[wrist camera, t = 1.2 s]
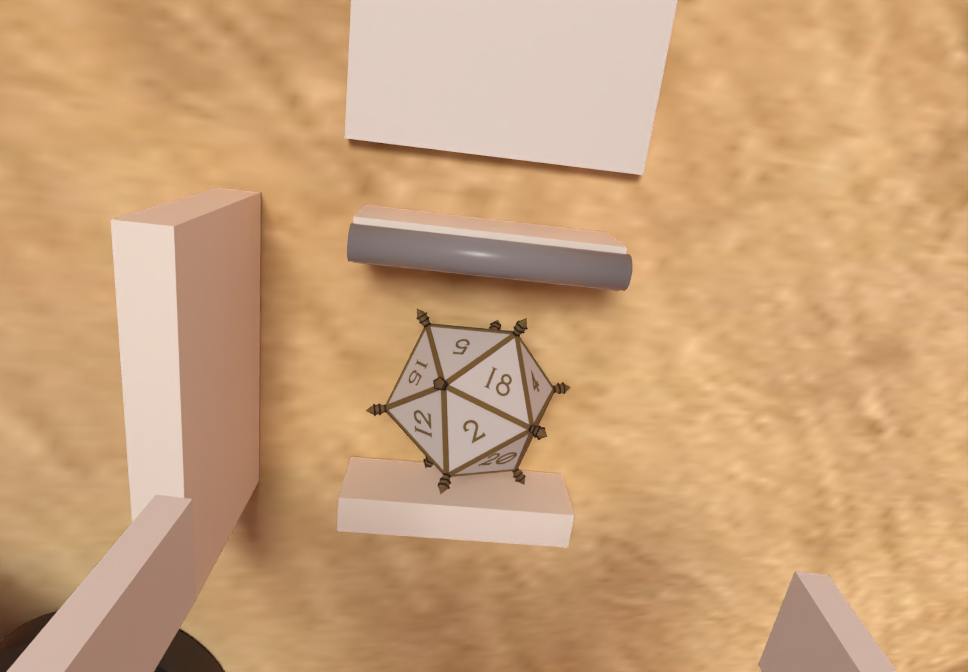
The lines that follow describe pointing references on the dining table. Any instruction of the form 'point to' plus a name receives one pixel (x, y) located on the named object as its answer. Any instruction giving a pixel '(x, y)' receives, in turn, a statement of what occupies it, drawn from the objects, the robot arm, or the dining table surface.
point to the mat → (510, 77)
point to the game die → (471, 399)
